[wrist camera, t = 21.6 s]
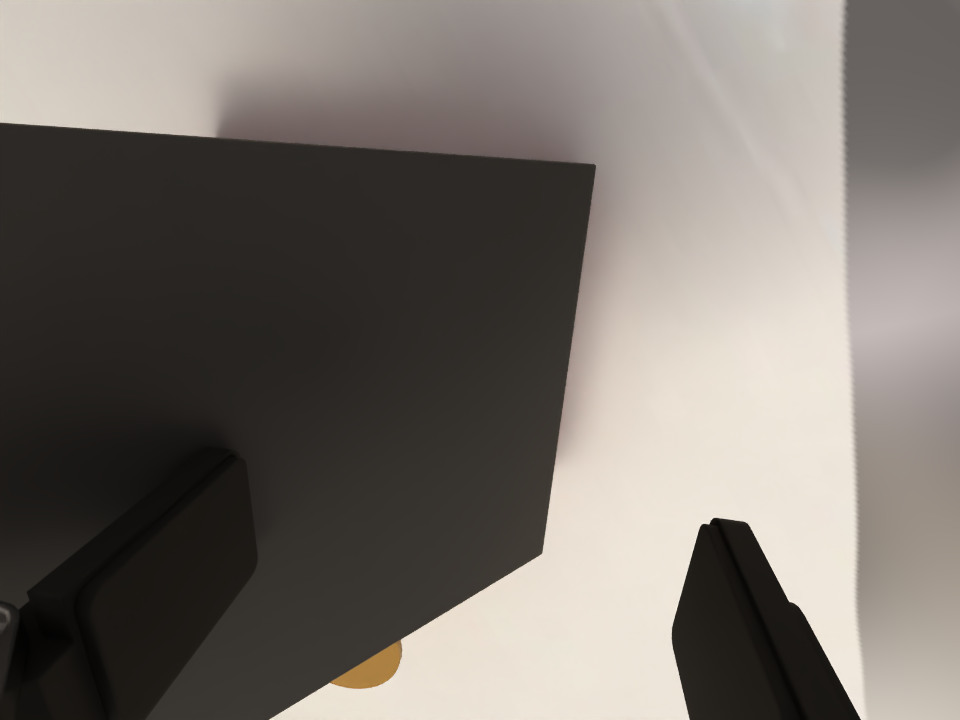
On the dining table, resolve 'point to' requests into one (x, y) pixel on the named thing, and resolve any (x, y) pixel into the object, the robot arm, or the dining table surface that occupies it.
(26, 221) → the lid
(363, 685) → the brass drawer pull
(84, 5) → the dining table surface
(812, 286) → the dining table surface
